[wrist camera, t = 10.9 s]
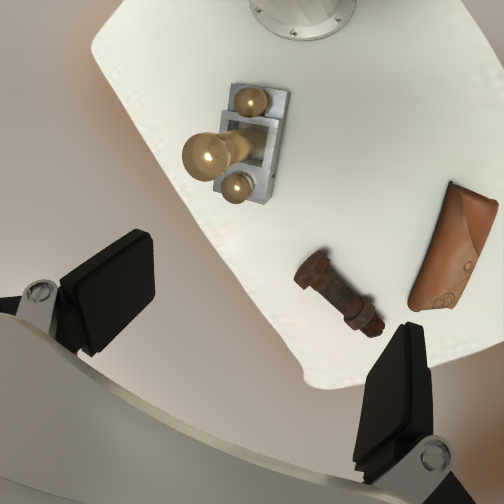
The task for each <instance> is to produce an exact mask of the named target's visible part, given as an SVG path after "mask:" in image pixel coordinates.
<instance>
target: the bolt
mask: <svg viewBox="0 0 504 504" xmlns="http://www.w3.org/2000/svg"><path fill="white" fill-rule="evenodd" d="M329 262H330V260H329V259H328V258H327V257H326V256H325V255H324V254H323V253H321V252H320V251H318V252H316V253H314V254H312V255H311V256H310V257H309V258H308V259H307V260H306V261H305V262H304V263H303V264H302V265H301V267H300V268H299V269H298V270H297V272H296V274H295V276H294V281H295V282H296V283H297V284H298V285H299V286H300V287H301V288H302V289H303V290H305V289H306V288H307V287H308V286H311V287H312V288H313V289H314V290H315V291H317V292H318V293H320V294H321V295H322V296H323V297H324V298H325V299H327V301H329V302H330V304H332V305H333V306H334V307H335V308H337V310H338V311H340V312H341V313H342V314H343V315H344V321H345V322H346V324H347V325H348V326H350V327H351V328H352V329H353V330H358V329H360V330H361V331H362V332H363V333H364V334H365V335H366V336H367V337H370V338H373V337H377V336H380V335H381V334H382V332H383V329H384V328H385V323H384V322H383V321H382V320H381V319H380V318H379V317H378V316H377V315H376V314H375V313H374V309H375V307H374V306H373V305H372V304H371V303H370V302H369V301H368V300H367V299H365V298H360V299H359V298H358V297H357V296H356V295H355V294H354V293H353V292H352V291H351V290H350V289H349V288H348V287H347V286H346V285H344V283H343V282H341V280H339V279H338V278H337V277H336V276H335V275H334V274H333V273H332V271H331V270H330V269H329V268H328V267H327V265H328V263H329Z"/></svg>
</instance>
